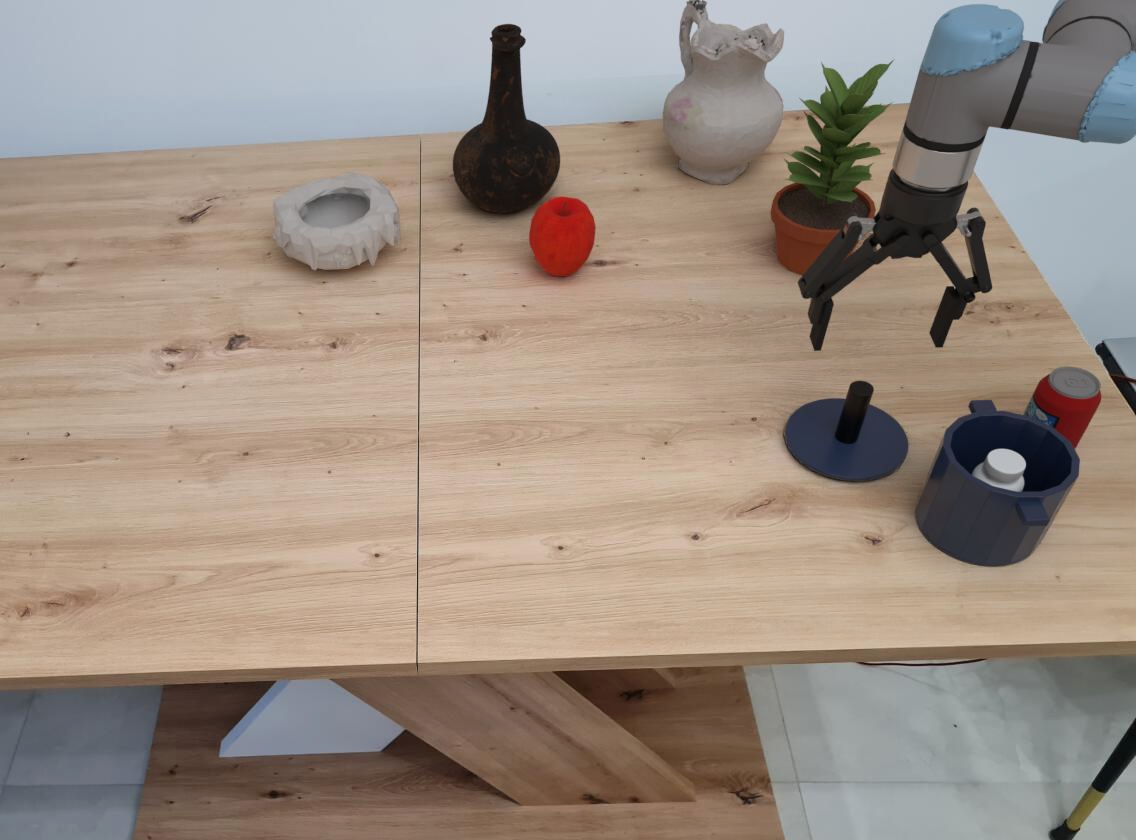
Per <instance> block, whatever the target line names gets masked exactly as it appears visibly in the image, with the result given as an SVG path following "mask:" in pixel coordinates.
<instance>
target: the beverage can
mask: <svg viewBox="0 0 1136 840" xmlns="http://www.w3.org/2000/svg"><path fill="white" fill-rule="evenodd" d="M1101 385H1102V384H1101V381H1100V379H1098V377H1097V376H1096V375H1095V374H1094V373H1092V372H1090V371H1088V370H1086V369H1084V368H1080V367H1077V366H1060V367H1057V368H1054V369H1053V370H1052V371H1051V372H1050V373H1048V374H1047V375H1045V376H1043V377H1042V378H1041V379H1040V380H1039V381H1038V383H1037V385H1036V387H1035V389H1034V391H1033V392H1032V395H1031V397H1030V399H1029V401H1028V403H1027V406H1026V408H1025V410H1024V412H1023V414H1022V415H1026V416H1030V417H1032V418H1034V419H1037V420H1039V421H1041V422H1043V423H1045V424H1047V425H1049V426H1052V427H1053V428H1054V429H1056V430H1057V431H1058V432H1059V433H1060V434H1062V435H1063V436H1064V437H1065V438H1066V439H1068V440H1069V441H1070V442H1071V443H1072V445H1073V447H1074V449H1075V450H1076V449H1077V447H1078V445H1079V443H1080V441H1081V440H1082V439H1083V436H1084V434H1085V432H1086V431H1087V428H1088V427H1089V425H1090V423H1091V421H1092V419H1093V418H1094V416H1095V414H1096V412H1097V410H1098V408H1099V406H1100V405H1101V402H1102V391H1101Z"/></svg>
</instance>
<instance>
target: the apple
mask: <svg viewBox="0 0 1136 840" xmlns="http://www.w3.org/2000/svg"><path fill="white" fill-rule="evenodd" d="M529 227H530V228H529V234H528V242H529V247H530V249H531V252H532V254H533V256H534V258H535V260H536V263H538V264H539V266H540V267H541V268H542V269H543V270H544V271H545V272H546V273H547V274H549V275H551V276H555V277H567V276H568V277H569V276H571V275H573V274H575V273H577V272H578V271H579V270H580V269H581V268H582V266H584V264H585V263H586V262H587V261H588V259H589V257H590V256H591V253H592V250H593V248H594V246H595V241H596V240H595V238H596V227H597V226H596V222H595V219H594V216H593V213H592V212H591V210H590V208H589V206H588V204H586V203H585V202H583V201H582V200H581V199H579V198H575V197H569V196H555V197H553V198H550V199H549V200H546V201H545V202H544V203H542V204H541V205H540V206H538V207H537V208H536V210H535V211H534V213H533V216H532V218H531V222H530V226H529Z"/></svg>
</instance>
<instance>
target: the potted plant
mask: <svg viewBox="0 0 1136 840" xmlns="http://www.w3.org/2000/svg"><path fill="white" fill-rule="evenodd" d="M894 61H895V59H893V60H891V61H890V62H889V63H878V64H875V65H874V66H872V67H871V68H869V69H868V70H867V71H866V72H865V73H864V74H863V75H862V76H860V77H858V78H857V79H855V80H854V81H853V82H852V84H850V86H849V87H847V84H846V82H845V80H844V78H843V77H842V75H841V74H840V73H839V72H838V71H837V70H836V69H834V68H832V67H825V64H823V62H822V61H821V62H820V63H821V68H822V73H823V77H824V78H825V81H826V83H827V85H825V89H824V90H825V91H824V92H822V94H820V97H819V100H820V102H819V101H817V100H814V99H806V100H804V99H802V98H800V97H798V98H799V100H800V101H801V102H802V103H803V105H805V107H806V108H807V109H808V110H809V111H811V113H813V114H814V116H816V117H817V118H818V119H819V120H820V121H821V122H822V123H823V124H824V125H823V127H822V126H821V124H820V123H819V121H818V120H816V118H815V117H814V116H813V115H811V114H808V113H806V111H805V110H802V111H803V113H804V115H805V116H806V121H807V125H808V128H809V129H810V131H811V133H812V135H813V136H814V138H815V139H816V141H817V142H818V144H819V145H820V148H819V150H817V149H816V148H814V147H811V146H809V145H805V146H803V147H802V148H801V149H802V150H804V151H805V152H804V151H797V150H796V151H794V152H793V153H792V154H791V153H788V152H786V154H787V155H789V156H790V157H791V158H793V159H795V160H796V161H788V160H787V159H785V158H783V160H784V162H785V163H786V165H787V169H788V171H789V173H791V174H790V175H789V176H788V178H784V180H785V181H790V182H792V183H789V184H788V185H785V186H783V187H782V188H781V189H780V190H778V191H777V192H776V193H775V195H774V197H773V199H772V202H771V208H770V220H771V222H772V224H774V233H775V234H774V235H775V245H776V246H775V247H776V256H777V261H778V262H779V263H780V265H781V266H782V267H784V268H785V269H786V270H788V271H790V272H793V273H795V274H796V275H800V276H803V274H804V273H805V272H806V271H807V270H808V268H809V267H810V266H811V265H812V264H813V262H814V261H815V260H816V259H817V258H818V256H819V255H820V254H821V253H822V252H823V250H824V249H825V248H826V247H827V246H828V244H829V243H830V242H831V241H832V240H833V238H834V237H835V236H836V235H837V234H838V232H839V231H840V229H841V227H842V224H843V222H844V219H845V217H846V215H847V214H848V213H851V212H855V213H856V214H857V216H858V217H859V218H873V217H874V216H875V215H876V212H877V208H876V204H875V202H874V200H873V199H872V198H871V197H870V196H869V194H868V193H866V192H865V191H863V190H861V189H859V188H858V187H857V186H858V185H859V184H861V183H862V182H868V181H873V179H872V176H873V175H872V174H871V173H870V171H871V170H870V168H871V167H872V166H873V165H874V164H875V161H874V162H871V163H870V164H868V165H863V164H857V165H856V164H855V162H856V161H858V160H862V159H867V158H872V157H877V156H881V155H885V154H886V152H882V150H881V149H880V148H879V147H877V146H876V147H874V146H871V145H872V143H871V142H870V141H865V142H862V143H858V144H857V143H856V142H855V143H854V144H853V145H852V146H849V145H850V144H851V143H852V142H853V141H854V139H855V138H856V137H858V135H859V134H860V133H861V132H863V130H864V129H865V128H866V127H867V126H868V125H869V124H870V123H871V122H872V121H874V120H876V119H877V118H878V117H880V116H881V115H882V114H883V113H884V112H885V111H886V110H887V109H888V108H889V107H890V106H891V105H892V104H893V103H894V102H890V103H888V104H887V105H883V104H882V103H879V104H872V105H870V106H865V105H866V104H867V102H868V101H869V100H870V99H871V98H872V97H873V95H874V93H875V90H876V88H877V86H878V84H879V80H880V79H881V78H882V76H883V75H884V74H885V73H887V71H888V70H889V68H890V66H891V65H892V64H893V62H894ZM828 87H829V88H828ZM864 106H865V107H864ZM856 144H857V145H856ZM870 146H871V147H870ZM854 164H855V165H854ZM816 172H817V173H818V174H819V175H818V174H817V173H816ZM859 243H860V241H857V243H856V245H855V246H854V248H853V249H852V250H851V252H850V253H849V254H848V255H847V256H846V257H845V259H846V258H847V257H848V256H850V255H851V254H852V253H853V252H855V249H856V248H857V246H858V244H859ZM845 259H844V260H845Z"/></svg>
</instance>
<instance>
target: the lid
mask: <svg viewBox="0 0 1136 840" xmlns="http://www.w3.org/2000/svg"><path fill="white" fill-rule="evenodd" d="M874 391H875V388H874V386H873V384H871V383H870V382H868V381H865V380H854V381H852V382H850V384H849V386H848V390H847V393H846V396H845V398H842V397H832V398H822V399H816V400H813V401H809V402H807V403H805V404H803V405H801V406H800V407H798V408H797V409H795V410H794V411H793V412H792V413H791V414H790V416H789V418H788V419H787V421H786V424H785V428H784V429H785V430H784V439H785V443H786V446H787V448H788V449H789V452H790V453H791V454H792V455H793V457H795V459H796V460H798V462H800V464H802V465H804V466H805V467H806V468H808V469H809V470H812V471H813V472H816V473H818V474H820V475H823V476H825V477H829V478H832V479H836V480H840V481H849V482H867V481H873V480H877V479H881V478H883V477H886V476H889V475H890V474H892V473H893V472H895V471H896V470H898V469H899V468H900V467H901V466H902V464H903V463H904V462H905V460H906V458H907V455H908V452H909V440H908V439H909V438H908V436H907V433H906V431H905V429H904V428H903V426H902V425H901V424H900V423H899V422H898V421H897V419H895V418H894V417H893V416H892V415H890V413H888V412H886V411H884V410H883V409H881V408H880V407H877V406H875V405H872V404H870V403H871V401H872V398H873V394H874Z"/></svg>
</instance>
